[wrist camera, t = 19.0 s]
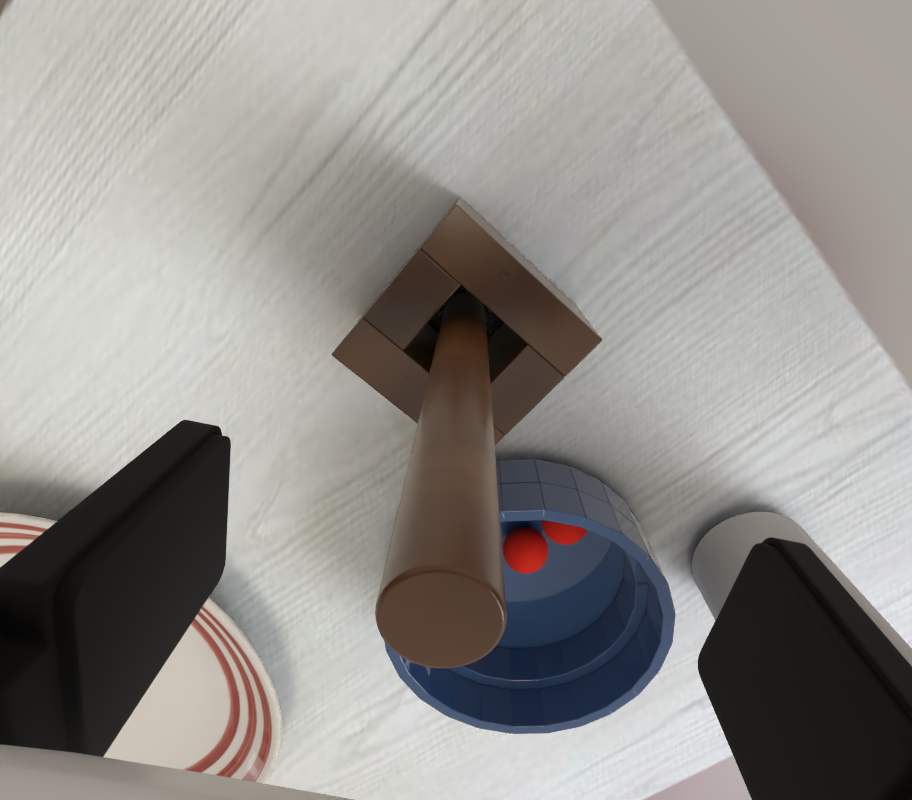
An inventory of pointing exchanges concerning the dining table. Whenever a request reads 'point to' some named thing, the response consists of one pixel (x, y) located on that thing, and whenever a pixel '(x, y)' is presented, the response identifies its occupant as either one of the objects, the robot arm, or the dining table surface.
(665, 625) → the bowl
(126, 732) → the dinner plate
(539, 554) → the tomato
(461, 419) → the stirring stick
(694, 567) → the beverage can
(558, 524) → the tomato
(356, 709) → the dining table surface
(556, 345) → the holder
